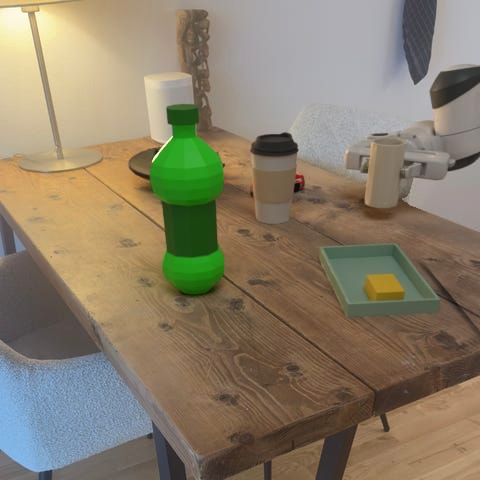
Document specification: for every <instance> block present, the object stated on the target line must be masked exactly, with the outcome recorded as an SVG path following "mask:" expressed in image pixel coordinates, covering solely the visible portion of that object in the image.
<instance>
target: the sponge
mask: <svg viewBox="0 0 480 480" xmlns="http://www.w3.org/2000/svg"><path fill="white" fill-rule="evenodd" d="M364 291H365V292H366V294H367V296H368V298H369V299H370V301H389V300H403V299H404V294H405V291H404V289H403V288H402V286H401V285H400V284H399V282H398V281H397V279H396V278H395V276H394V275H393V274H378V275H366V282H365V290H364Z"/></svg>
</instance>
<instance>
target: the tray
mask: <svg viewBox="0 0 480 480" xmlns="http://www.w3.org/2000/svg"><path fill="white" fill-rule="evenodd" d="M318 260H319V262H320V265H321V267H322V268H323V270H324V272H325V274H326V277H327V279H328V281H329V284H330V285H331V288H332V289H333V292H334V294H335V296H336V298H337V300H338V302H339V304H340V306H341V309H342V310H343V313H344V315H345V318H363V317H383V316H399V315H400V316H401V315H402V316H403V315H419V314H434V313H435V314H436V313H437V314H438V311H439V308H440V303H441V298H440V297H439V296H438V293H436V292H435V290H434V289H433V287H431V285H430V283H428V281H427V280H426V279H425V278H424V277H423V275H422V274H421V272H419V270H418V268H416V266H415V265H414V264H413V263H412V262H413V261H411V260H410V259H409V257H408V256H407V255H406V254H405V252H404V251H403V250H402V248H401V247H400V246H399V245H398V243H397V242H389V243H388V242H387V243H370V244H369V243H368V244H367V243H366V244H351V245H350V244H349V245H329V246H319V251H318ZM378 274H393V275H394V276H395V278H396V279H397V281H398V282H399V284H400V285H401V286H402V288H403V289H404V291H405V294H404V299H403V300H389V301H370V299H369V298H368V296H367V294H366V292H365V291H364V290H365V282H366V275H378Z"/></svg>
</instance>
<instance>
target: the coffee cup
mask: <svg viewBox="0 0 480 480" xmlns="http://www.w3.org/2000/svg"><path fill="white" fill-rule="evenodd" d="M250 146H251V147H250V150H249V152H250V155H251V165H250V166H251V178H252V183H253V192H254V194H253V198H254V208H255V209H254V210H255V220H256V221H258V222H259V223H262V224H268V225H281V224H285V223H287V222H289V221H290V220H291V213H292V205H293V203H292V202H293V198H294V193H295V192H294V184H295V176H296V173H297V168H298V167H297V166H298V165H297V159H298V152H299V144H298V143H297V142H296V141H294V138H293V135H292V133H289V132H286V131H284V132H281V133H266V134H261V135H258V136H257V137H255V140H254V141H253V142H252V143H251V145H250Z"/></svg>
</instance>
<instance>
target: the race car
mask: <svg viewBox="0 0 480 480" xmlns="http://www.w3.org/2000/svg"><path fill="white" fill-rule="evenodd" d="M305 186H306V180H305V176H304V174H302V173H300V172H296V176H295V184H294V193H297V192H299V191H300V190H301V189H304V188H305ZM249 193H250V194H252V195H254V192H253V182H252V183H251V184H250V187H249Z"/></svg>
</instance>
